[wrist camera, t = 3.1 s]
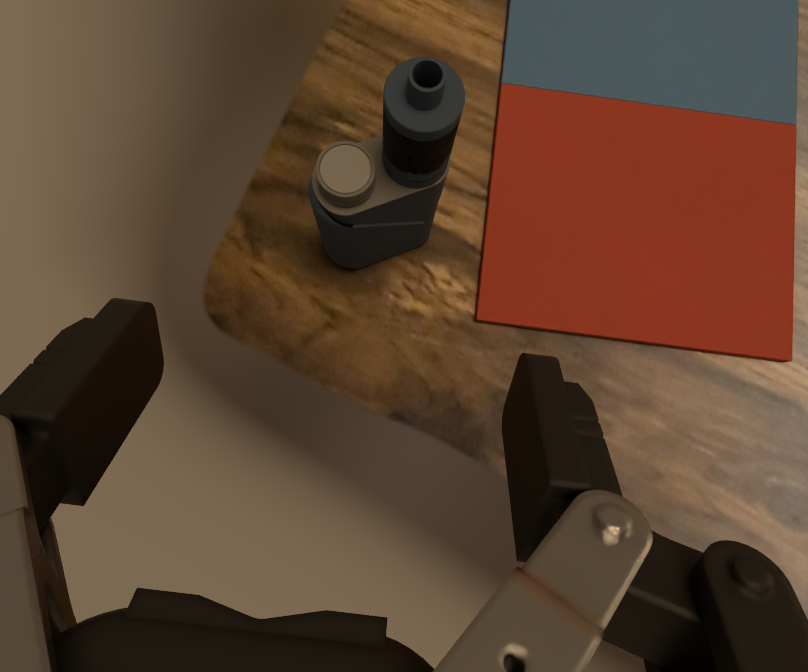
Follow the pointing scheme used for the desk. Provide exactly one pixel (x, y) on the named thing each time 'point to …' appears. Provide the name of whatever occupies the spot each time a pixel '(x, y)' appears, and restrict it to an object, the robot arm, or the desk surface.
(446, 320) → the desk surface
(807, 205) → the desk surface
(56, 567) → the robot arm
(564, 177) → the sorting mat
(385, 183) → the vaping device
